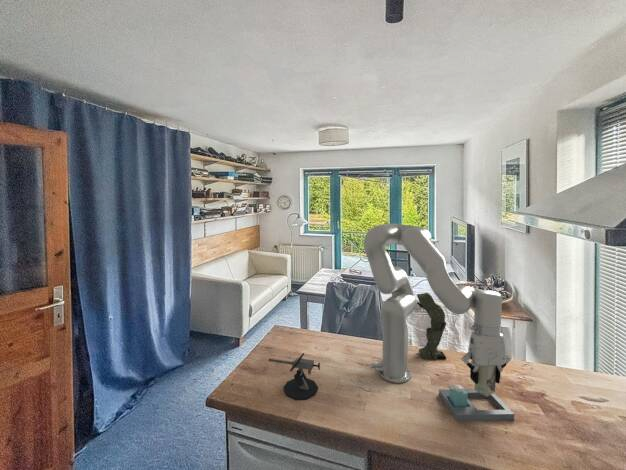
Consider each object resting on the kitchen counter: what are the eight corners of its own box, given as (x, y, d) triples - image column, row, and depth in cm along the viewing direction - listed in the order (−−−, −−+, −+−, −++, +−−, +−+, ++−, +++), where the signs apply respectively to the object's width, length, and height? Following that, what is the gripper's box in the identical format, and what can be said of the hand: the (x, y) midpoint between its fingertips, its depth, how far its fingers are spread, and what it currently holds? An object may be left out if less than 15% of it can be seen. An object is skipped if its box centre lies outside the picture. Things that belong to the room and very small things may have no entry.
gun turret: (275, 374, 121) (274, 344, 120) (323, 382, 115) (323, 350, 114) (260, 393, 109) (259, 359, 107) (314, 403, 103) (313, 367, 102)
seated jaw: (454, 411, 99) (455, 391, 98) (449, 403, 103) (449, 383, 102) (466, 411, 99) (467, 390, 98) (460, 403, 103) (461, 383, 102)
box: (487, 397, 97) (488, 359, 96) (473, 390, 101) (475, 353, 99) (496, 392, 100) (497, 354, 99) (482, 385, 103) (483, 349, 102)
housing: (456, 421, 94) (457, 414, 94) (439, 394, 107) (439, 389, 107) (514, 419, 95) (514, 413, 94) (489, 394, 107) (489, 388, 107)
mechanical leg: (450, 351, 137) (436, 288, 135) (456, 359, 130) (441, 292, 128) (419, 356, 139) (405, 294, 137) (423, 365, 132) (408, 299, 130)
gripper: (466, 334, 94) (464, 388, 96) (521, 333, 95) (518, 387, 96) (455, 324, 102) (453, 375, 104) (505, 323, 102) (503, 374, 104)
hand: (485, 380), depth 100 cm, fingers closed on box, 6 cm apart
